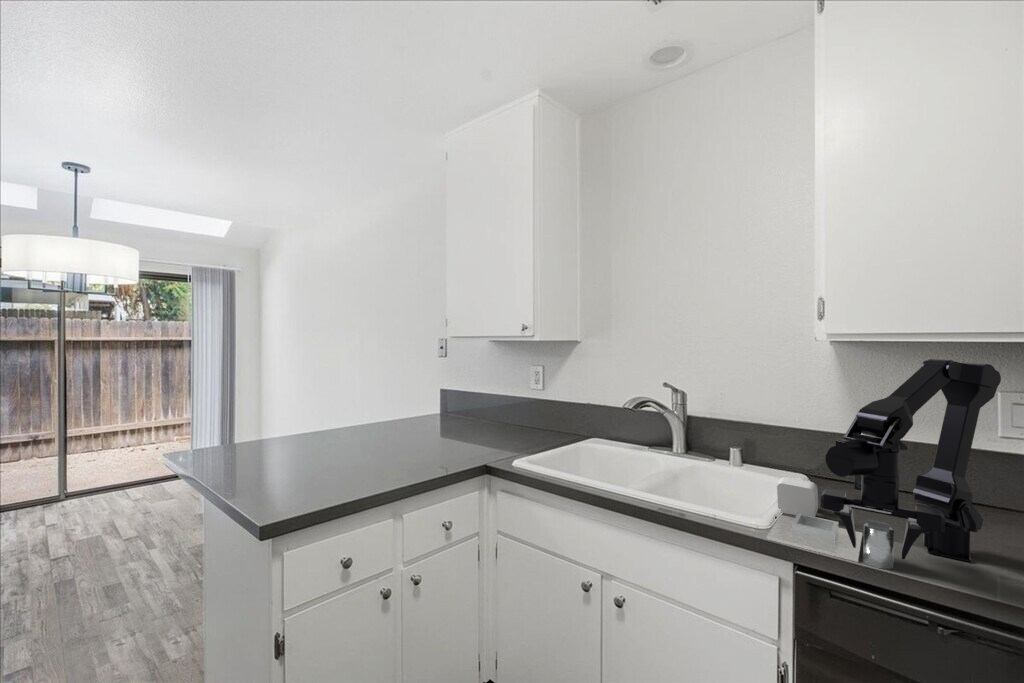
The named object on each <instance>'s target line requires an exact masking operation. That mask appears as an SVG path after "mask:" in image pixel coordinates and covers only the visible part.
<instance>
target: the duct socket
mask: <svg viewBox="0 0 1024 683" xmlns="http://www.w3.org/2000/svg"><path fill="white" fill-rule="evenodd" d="M839 524H840V523H839V521H836V520H832V519H825V518H822V517H817V516H815V517H813V516H808V515H803V514H799V513H798V514H797V515H796V516H794V517H792V516H787V515H783V514H780V515H779V516H778V518H777V520H776V521H775V523H774V524H773V526H772V528H771V529H770V531H769V532H768V534H767V535H766V540H769V541H773V542H777V543H779V544H785V545H788V546H793V547H797V548H800V549H805V550H807V551H808V550H809V551H814V552H817V553H820V554H823V555H828V556H833V557H836V558H840V559H843V560H844V559H845V560H848V561H852V562H856V563H859V559H860V553H861V547H862V541H863V532H861V531H857V530H855V533H856V548H854V547H853V545H852V543H851V540H850V538H849V535H848V532H847V530H846V528H844V527H839Z"/></svg>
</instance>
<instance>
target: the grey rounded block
mask: <svg viewBox="0 0 1024 683" xmlns="http://www.w3.org/2000/svg"><path fill="white" fill-rule="evenodd" d="M818 493H819V492H818V486H817V484H816V483H815V482H814V481H813V482H812V481H810V480H806V479H804V478H803V477H797V478H795V477H794V478H792V477H787V476H785V477H781V478H780V480H779V482H778V483H777V486H776V497H777V509H778V508H779V509H781V511H782V512H781V511H780V512H781V513H783V514H787V515H791V516H794V517H796V515H797V514H798V513H799V514H803V515H808V516H813V517H817V516H816V515H817V513H818V509H819V497H818V495H819V494H818ZM779 509H778V510H779Z"/></svg>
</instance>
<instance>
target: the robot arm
mask: <svg viewBox="0 0 1024 683" xmlns="http://www.w3.org/2000/svg"><path fill="white" fill-rule="evenodd" d="M1001 381H1002V376H1001V373H1000V372H999V370H997V369H996V368H995V367H994V366H993V365H992V364H989V363H973V362H959V361H954V360H952V359H939V358H936V359H935V358H934V359H933V358H931V359H927V360H923V361H922V363H921V366H920V368H919V369H918V370H917V371H915V372H914V373H913V374H912V375H911V376H910V377H909V378H907V380H906V381H904V382H903V383H902V384H901V385H899V387H897V388H896V389H895V390H894V391H893V392H892V393H891V394H889V395H888V396H886V397H884V398H881V399H877V400H874V401H871V402H869V403H868V404H866V405H865V406H863V407H861V408H860V409H858V412H857V413H856V415H855V417H854V418H853V421H852V422H851V424H850V426H848V429H847V430H846V432H845V434H844V435H843V438H842V439H841V438H839V439H835V445H833V446H831V447H830V448H829V449H828V450H827V452H826V454H825V456H824V457H825V463H826V466H827V467H828V470H830V472H831V473H833V474H834V475H835V476H837V477H839V478H840V477H841V478H842V477H843V478H844V477H845V478H846V477H854V478H853V479H854V480H853V490H854V492H855V491H856V492H860V499H855V498H851V497H848V496H847V492H846V491H840V490H835V489H830V488H829V489H828V488H825V489H824V490H823V491H822V493H821V495H820V507H819V508H821V509H823V510H828V511H832V512H833V515H834V516H837V517H839V519H840V521H841V523H843V525H844V529H846V530H847V532H848V535H849V538H850V540H851V543H852V545H853V547H854V548H856V533H855V531H856V528H855V520H854V518H855V517H854V510H859V511H865V512H871V513H875V514H879V515H886V516H890V517H893V518H901V519H905V520H906V525H905V530H904V531H905V532H904V536H903V541H902V546H901V560H906V557H907V556H908V554H909V552H910V550H911V548H912V546H913V545H914V543H915V542H916V540H917V539H918V538H919V537H920V536H921V534H923V541H922V542H923V546H924V547H925V548H926V553H929V554H933V555H937V556H941V557H945V558H949V559H954V560H958V561H959V560H960V561H964V562H966V563H967V562H968V563H972V557H971V532H972V533H978V532H979V531H980V530H982V527H983V523H984V518H983V517H982V516H981V514H980V513H979V512H978V510H977V509H976V508H975V507H974V506H973V504H972V503H973V492H972V490H971V488H970V486H969V483H968V481H967V479H966V473H967V468H968V465H969V460H970V455H971V451H972V446H973V442H974V437H975V433H976V428H977V423H978V418H979V414H980V410H981V408H982V407H985V405H986V404H987V403H989V402H990V401H991V400H992V399H994V397H995V395H996V393H997V389H998V387H999V385H1000V384H1001ZM940 390H941V392H942V394H943V396H944V398H945V399H946V407H945V412H944V417H943V421H942V425H941V428H940V429H941V430H940V434H939V438H938V442H937V446H936V447H937V448H936V451H935V455H934V460H933V465H932V467H931V470H929V471H928V472H927V473H926V474H921V473H920V474H918V475H917V476H916V480H915V486H914V489H913V490H912V493H913V497H912V498H913V501H914V502H913V503H914V505H915V506H914V507H915V509H911V508H905V507H900V506H899V501H900V500H899V496H900V495H899V494H900V492H899V490H900V489H899V487H900V486H899V485H900V484H899V482H900V480H899V479H900V452H901V451H907V450H908V445H906V444H905V443H903V442H902V441H901V440H902V439H903V438H905V436H906V435H907V434H908V432H909V431H910V430H911V429H912V427H914V415H915V414H916V413H917V412H918V411H919V410H920V409H921V408H922V407H924V405H925V404H926V403H928V402H929V401H930V400H931V399H932V398H933V397H934V396H935V395H937V393H938V392H939V391H940Z"/></svg>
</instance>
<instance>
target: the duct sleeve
mask: <svg viewBox="0 0 1024 683" xmlns="http://www.w3.org/2000/svg"><path fill="white" fill-rule="evenodd" d="M894 537H895V530H894V529H893V528H892V527H890V523H888V522H883V521H880V520H879V521H878V520H875V519H874V520H873V519H868V522H865V523H864V524H863V551H862V552H863V553H862V560H863V562H864V563H865V564H867V565H869V566H871V567H873V568H877V569H882V570H891V568H892V569H893V568H894V544H895V543H894V542H895V540H894Z"/></svg>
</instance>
